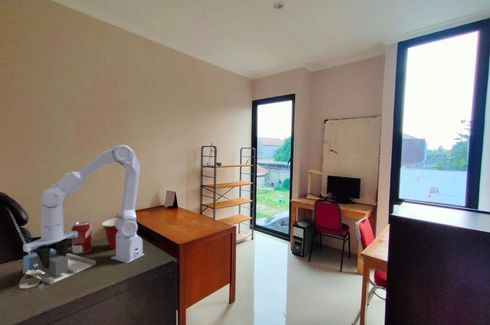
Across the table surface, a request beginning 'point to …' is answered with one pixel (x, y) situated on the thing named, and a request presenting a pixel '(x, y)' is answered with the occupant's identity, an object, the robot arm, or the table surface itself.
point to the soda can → (82, 237)
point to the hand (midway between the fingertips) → (53, 265)
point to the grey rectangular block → (55, 264)
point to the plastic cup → (111, 232)
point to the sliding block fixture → (74, 266)
